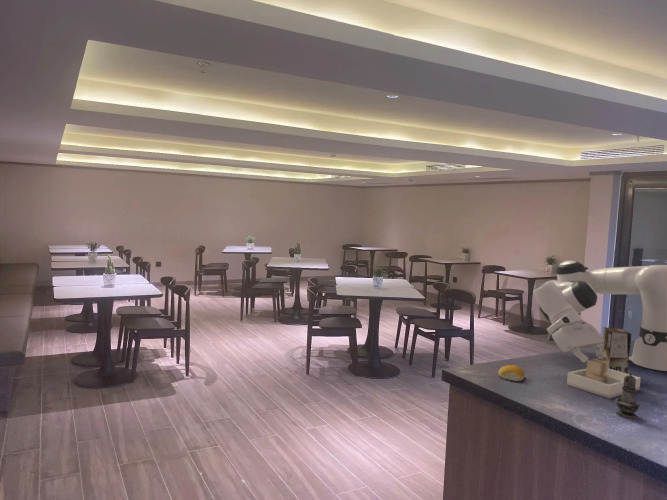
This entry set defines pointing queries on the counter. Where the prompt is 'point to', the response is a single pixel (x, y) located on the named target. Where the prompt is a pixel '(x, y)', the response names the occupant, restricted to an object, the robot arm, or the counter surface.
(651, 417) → the counter surface
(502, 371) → the bread roll
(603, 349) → the coffee box
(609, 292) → the robot arm
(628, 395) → the dark grey upright piece
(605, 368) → the maple block
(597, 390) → the caddy
